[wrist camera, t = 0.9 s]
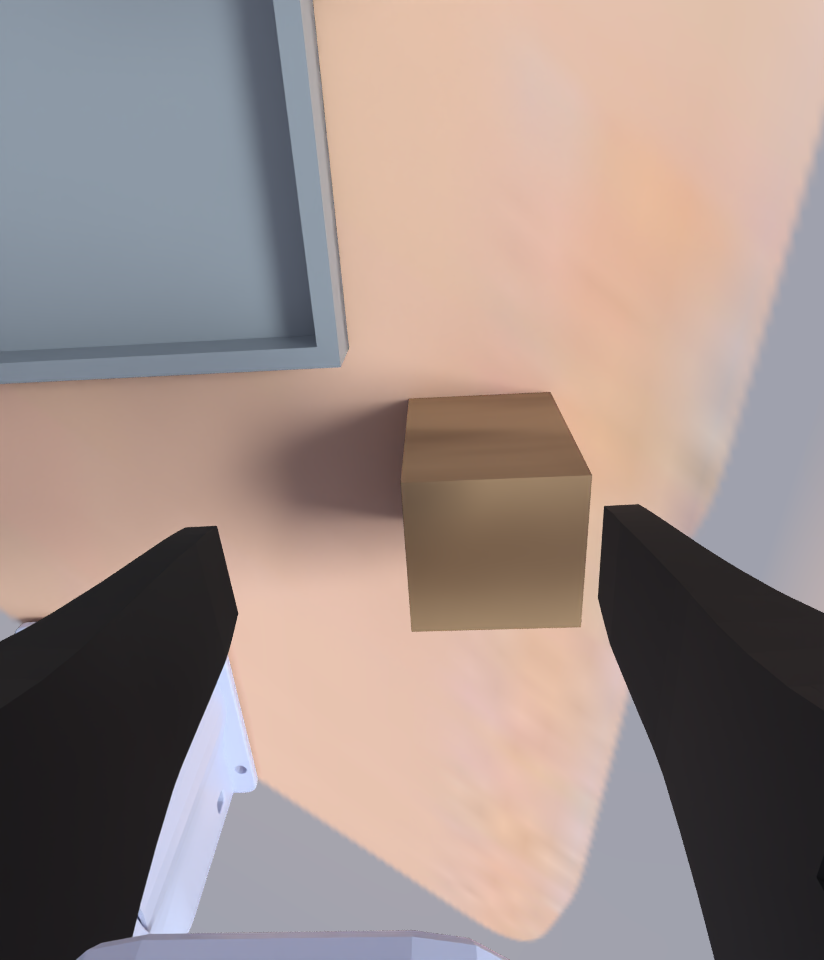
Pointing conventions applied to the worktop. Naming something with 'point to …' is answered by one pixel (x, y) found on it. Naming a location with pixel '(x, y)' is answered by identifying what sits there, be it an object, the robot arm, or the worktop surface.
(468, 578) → the block
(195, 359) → the tray
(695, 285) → the worktop surface
